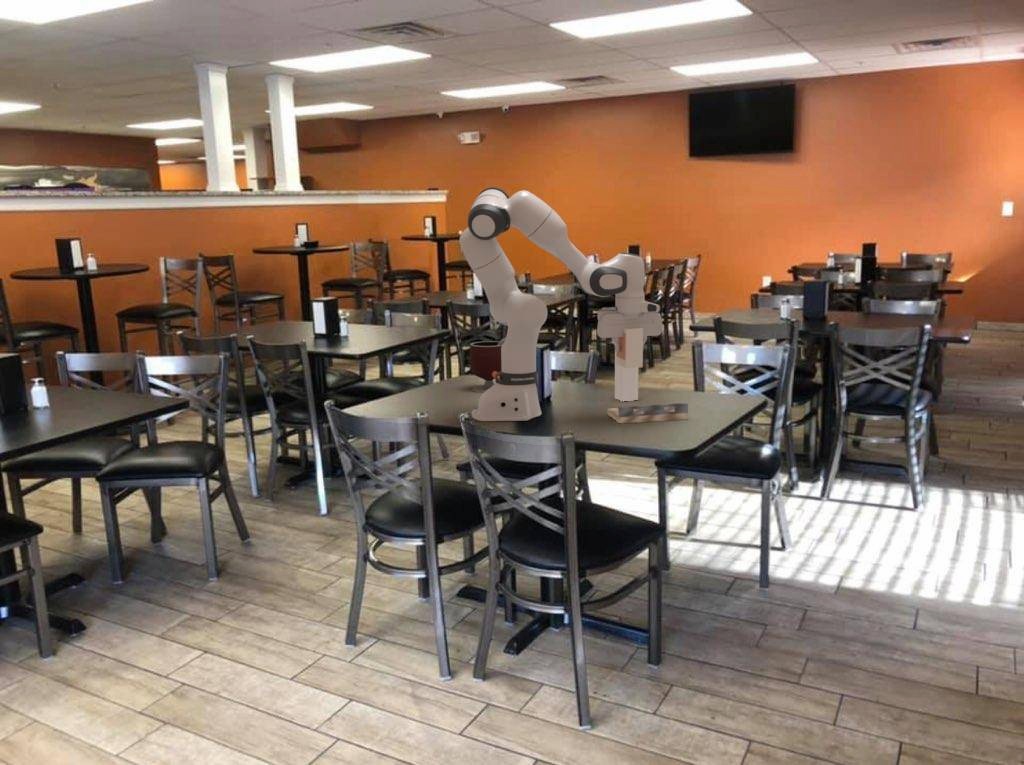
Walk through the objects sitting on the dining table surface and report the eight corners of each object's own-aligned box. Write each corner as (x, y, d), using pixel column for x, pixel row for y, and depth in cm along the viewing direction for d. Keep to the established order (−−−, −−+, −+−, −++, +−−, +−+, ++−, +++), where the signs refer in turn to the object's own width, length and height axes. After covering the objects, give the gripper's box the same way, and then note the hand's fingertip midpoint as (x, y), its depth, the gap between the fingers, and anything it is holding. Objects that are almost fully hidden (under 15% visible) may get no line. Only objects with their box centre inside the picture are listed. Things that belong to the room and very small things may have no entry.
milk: (614, 399, 291) (614, 335, 287) (630, 397, 293) (630, 334, 289) (622, 402, 285) (623, 337, 281) (638, 400, 287) (638, 336, 283)
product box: (615, 364, 263) (616, 326, 261) (633, 362, 265) (633, 325, 262) (625, 368, 256) (625, 329, 253) (642, 367, 257) (643, 328, 255)
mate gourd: (468, 393, 304) (467, 338, 300) (472, 386, 317) (470, 333, 313) (511, 393, 303) (510, 338, 299) (513, 385, 317) (512, 333, 313)
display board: (619, 423, 255) (619, 407, 254) (607, 414, 267) (607, 399, 266) (687, 419, 260) (688, 403, 259) (672, 410, 271) (673, 395, 270)
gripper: (600, 308, 251) (600, 354, 254) (664, 305, 256) (663, 350, 258) (594, 306, 257) (594, 351, 260) (656, 304, 262) (655, 347, 264)
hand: (629, 351), depth 259 cm, fingers closed on product box, 6 cm apart
